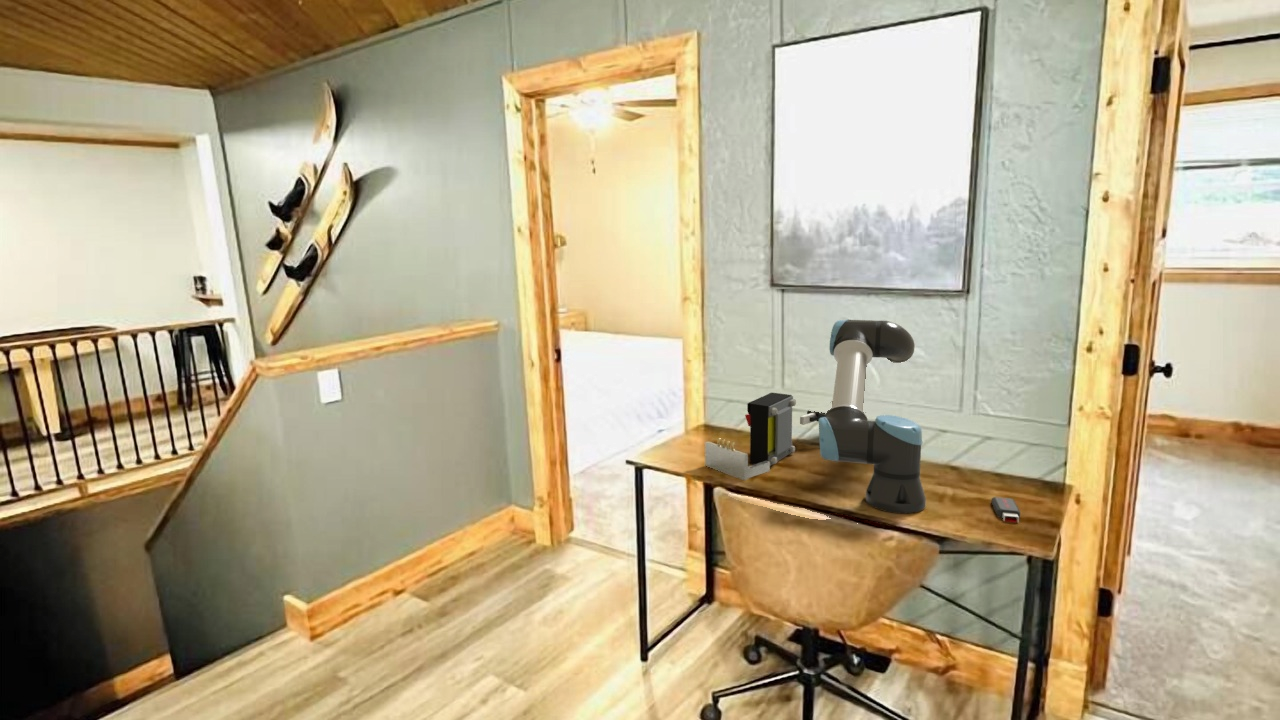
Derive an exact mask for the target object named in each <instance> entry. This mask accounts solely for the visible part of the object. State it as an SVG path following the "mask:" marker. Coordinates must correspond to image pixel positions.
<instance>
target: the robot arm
mask: <svg viewBox="0 0 1280 720" xmlns="http://www.w3.org/2000/svg"><path fill="white" fill-rule="evenodd" d="M832 325H833V326H832V328H831V332H830V337H829V353H830V355H831V356H833V357H834V360H835V361H836V362H837V363H836V370H835V371H836V372H835V378H834V387H833V395H832V400H831V402H832V408H831V409H830V410H828V411H827V413H826V414H825V413H822V412H821V413H819V412H815V411H814V412H811V411H809V410H807V411H806V414H804V415H800V416H799V423H800V425H808V424H810V423H814V422H818V437H819V453H820V454H819V455H820V456H821V458H822V459H824V460H827V461H834V462H842V463H843V462H845V463H856V464H867V465H873V473H872V476H871V478H870V481H869V483H868V486H867V488H866V491H865V501H866V503H867V504H868V505H869V506H871V507H873V508H874V509H878V510H880V511H884V512H887V513H895V514H913V512H915V513H919V512H921V511H923V510H925V509H926V503H927V502H926V501H927V497H926V495H925V491H924V488H923V485H922V482H921V481H922V480H921V462H922V461H921V459H922V445H923V431H922V427H921V426H920V424H918V422H917V423H916V422H915V421H914V420H911V419H908V418H905V417H902V416H897V415H891V414H886V415H884V414H881V415H877V416H876V418H875V419H874V420H868V416H867V415H866V414H865V413H864V412H863V403H864V391H865V379H866V367H867V364H868V363H870V362H871V361H872V359H873V358H883V359H885V358H887V359H888V360H890V361H891V362H893V363H901V362H905V361H907V360H908V359H910V360H911V358H912V357H913V354H914V352H915V341H914V338H913V337H912V335H911V334H910V333H909V332H908V330H907V329H905V327H903V326H901V325H900V324H897V323H896V322H893V321H888V320H868V319H867V320H865V319H862V320H861V319H839V320H837V321H835V322H834V324H832ZM918 511H919V512H918Z"/></svg>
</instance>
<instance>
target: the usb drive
mask: <svg viewBox="0 0 1280 720" xmlns="http://www.w3.org/2000/svg"><path fill="white" fill-rule="evenodd" d="M990 502H991V503H992V504H991V503H990V504H991V506H992V505H993V506H992V508H993V509H994V512H995V514H997V515H996V516H997V517H998V516H999V518H1000V519H1002V518H1003V519H1002V521H1003V522H1006V521H1010V522H1009V523H1016V522H1017V523H1019V522H1020V519H1021V510H1020V509H1019V507H1018V504H1017V503H1016V501H1015V500H1014V499H1013V498H1010V497H998V496H993V497H992V498H991V501H990Z"/></svg>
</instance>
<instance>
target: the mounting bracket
mask: <svg viewBox="0 0 1280 720" xmlns="http://www.w3.org/2000/svg"><path fill="white" fill-rule="evenodd" d="M730 444H731V445H730ZM704 454H705V455H704V459H705V460H704V463H705V465H704V466H705V467H706V466H707V467H706V468H708V467H710V468H709V469H711V468H713V469H712V470H714V469H715V470H714V471H717V470H718V471H717V472H720V471H721V472H720V473H722V472H723V473H722V474H725V475H728V476H730V477H734V478H736V479H739V480H741V481H747V480H748V479H750V478H753V477H756V476H759V475H761V474H764V473H768V472H770V471H771V469H770V468H771V466H770V462H769V461H763V462H760V463H757V464H751V465H749V453H745V452H743V451H740V450H736V449H735V441H734V442H731V443H730V440H726V439H722V440H721V438H720V437H718V438H717V443H714V442H711V441H705V442H704Z"/></svg>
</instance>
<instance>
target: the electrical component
mask: <svg viewBox="0 0 1280 720" xmlns="http://www.w3.org/2000/svg"><path fill="white" fill-rule="evenodd" d="M746 405H747V409H746V410H747V413H748V414H745V415H744V416H745V418H746V419H745V420H746V422H747V425H748V426H749V427H750V429H749V430H750V433H749V435H750V436H749V438H750V439H749V448H750V449H749V452H750V453H749V460H750V461H749V464H751V465H754V464H757V463H760V462H763V461H769V462H770V467H771V466H773V465H775V464H777V463H778V462H779V461H781V460H782V459H784V458H785V457H788V456H789V455H790V454H791V453H795V451H796V447H795V445H793V442H792V441H793V439H792V437H793V434H792V433H793V407H795V406H796V405H797V400H796V399H794V396H793V395H792V394H786V393H781V392H780V393H777V392H770V393H768V394H766V395H765V394H764V395H763V396H760V397H758V398H756V399H754V400H752V401H750V402H748V403H746Z"/></svg>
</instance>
